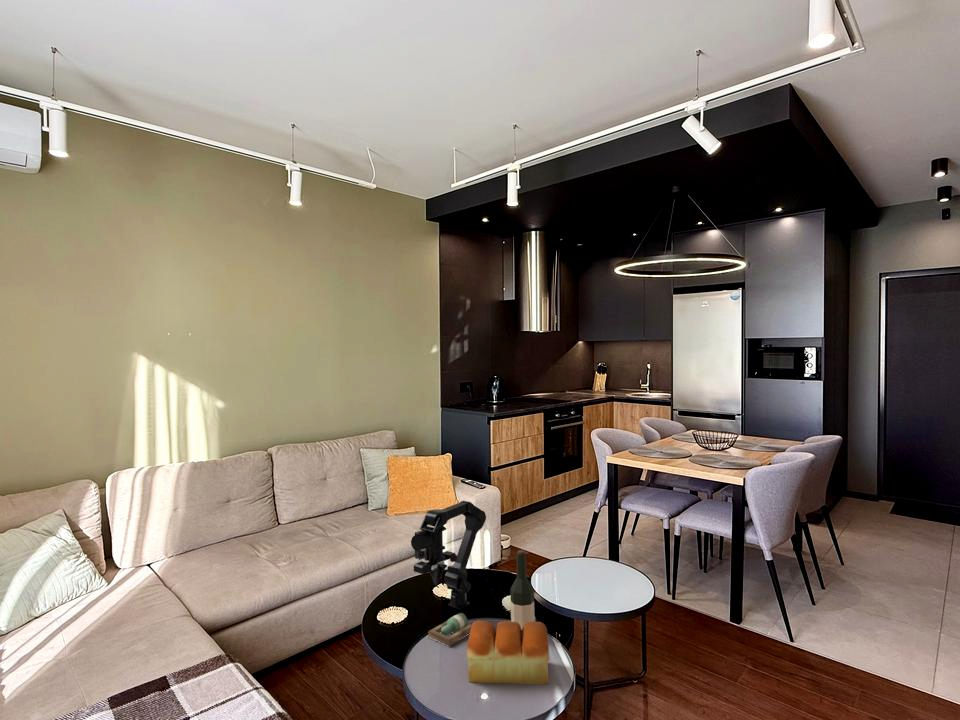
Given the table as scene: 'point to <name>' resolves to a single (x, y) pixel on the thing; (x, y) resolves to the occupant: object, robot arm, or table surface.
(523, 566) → the wine bottle
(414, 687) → the table surface
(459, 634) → the wooden tray
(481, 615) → the table surface
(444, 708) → the table surface
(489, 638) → the bread
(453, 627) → the bottle
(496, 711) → the table surface
